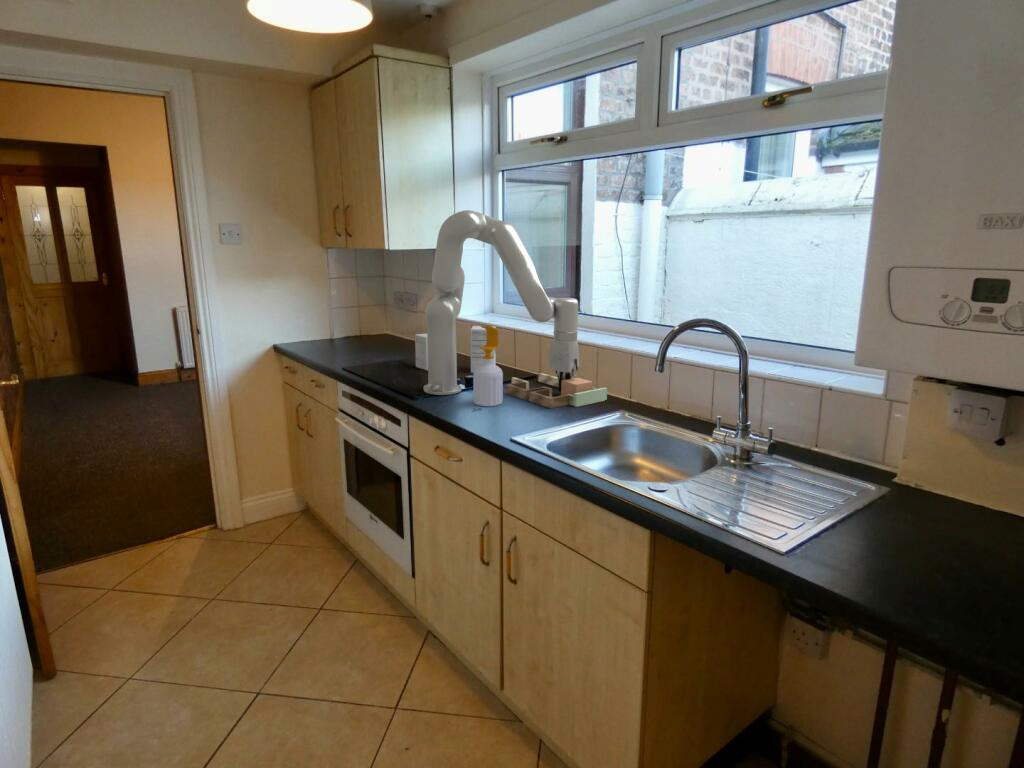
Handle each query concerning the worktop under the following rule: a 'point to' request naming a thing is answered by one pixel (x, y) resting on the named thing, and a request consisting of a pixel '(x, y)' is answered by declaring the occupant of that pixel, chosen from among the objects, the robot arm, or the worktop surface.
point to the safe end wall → (590, 397)
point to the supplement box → (478, 346)
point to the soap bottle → (488, 374)
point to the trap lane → (540, 392)
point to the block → (575, 386)
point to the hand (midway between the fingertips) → (563, 391)
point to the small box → (421, 351)
